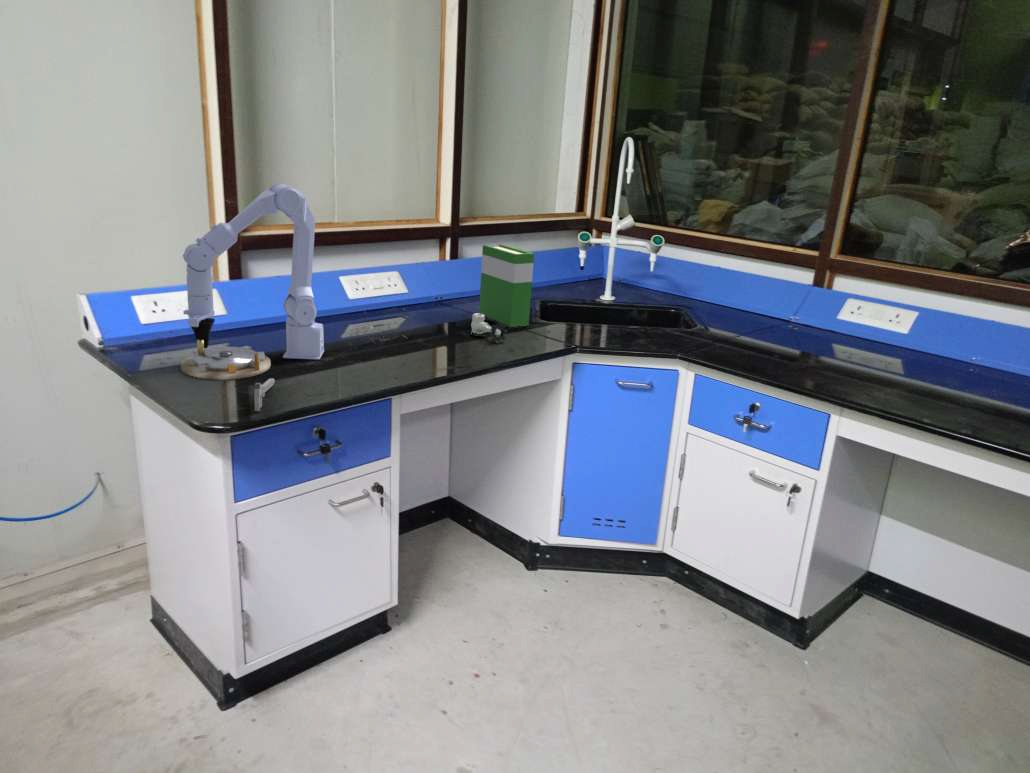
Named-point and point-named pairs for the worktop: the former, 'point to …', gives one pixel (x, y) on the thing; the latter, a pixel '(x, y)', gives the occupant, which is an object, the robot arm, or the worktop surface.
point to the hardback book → (506, 284)
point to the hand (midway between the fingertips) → (202, 347)
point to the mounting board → (224, 375)
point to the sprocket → (223, 358)
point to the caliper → (261, 392)
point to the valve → (487, 327)
